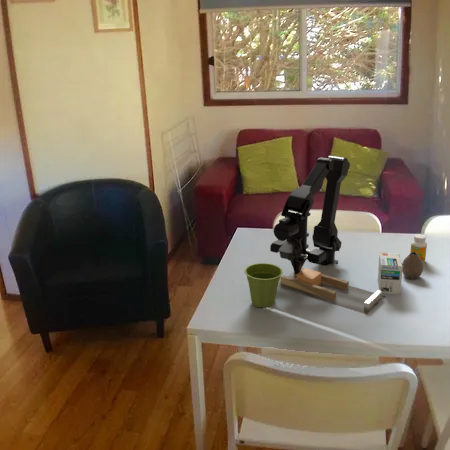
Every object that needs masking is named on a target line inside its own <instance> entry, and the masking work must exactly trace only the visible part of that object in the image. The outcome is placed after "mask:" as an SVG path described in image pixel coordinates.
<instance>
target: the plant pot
mask: <svg viewBox="0 0 450 450" xmlns="http://www.w3.org/2000/svg"><path fill="white" fill-rule="evenodd" d="M244 274H245V276H246V278H247V279H246V280H247V282H248V287H249V293H250V300H251V304H252V305H253V306H255V307H257V308H265V309H267V308H270V307H271V305H273V304H275V301H276V297H277V291H278V287H279V286H278V283H279V282H280V278H281V276H283V269H282V268H281V267H280V266H278V265H276V264H273V263H268V262H260V263H253V264H249V265H248V266H246V267H245V268H244Z"/></svg>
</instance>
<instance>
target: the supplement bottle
mask: <svg viewBox="0 0 450 450" xmlns="http://www.w3.org/2000/svg"><path fill="white" fill-rule="evenodd" d="M426 237H427V236H426V235H424V234H419V233H418V234H417V233H416V234H414V236H413V240H412V241H411V243H410V253H411V252H416V253H417V254H418V256H419V257H420V259H421V260H422V263H423V262H424V263H426V256H427V250H428V249H427V248H428V243H427V242H426V239H427V238H426ZM410 253H409V254H410ZM424 263H423V264H424Z"/></svg>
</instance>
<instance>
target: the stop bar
mask: <svg viewBox="0 0 450 450" xmlns="http://www.w3.org/2000/svg"><path fill="white" fill-rule="evenodd" d="M373 293H374V294H373V295H372V296H371V297H370V298H369V299H367V300H366V301H365V302H364V310H366V311H369V310H370V309H371V308H372V307H373V306H374V305H375V304H376V303H377V302H378V301H379V300H380V299H381V298H382V295H383V293H382V291H380V290H379V289H377V290H376V291H375V292H373Z"/></svg>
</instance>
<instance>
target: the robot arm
mask: <svg viewBox="0 0 450 450" xmlns="http://www.w3.org/2000/svg"><path fill="white" fill-rule="evenodd" d="M350 166H351V164H350V162H349V159H348V158H347V157H342V156H338V155H337V156H336V155H328V156H327V157H318V158H317V159H316V163H315V165H314V166H313V168H312V169H311V171H310V173H309V174H308V176H307V177H306V178H305V180H304V181H303V183H302V184H301V186H300V187H297V188H295V189H294V190H293V191H291V193H290V194H289V195H288V196H287V199H286V201H285V204H284V205H283V208H282V211H281V214H280V216H281V217H284V218H280V219H279V220H278V223H277V224H275V226H274V227H273V234H274V236H275V238H276V239H277V240H274V241H273V242H272V243H271V244H270V247H269V251H270V252H271V253H276V254H278V253H279V256H280V258H281V259H283V260H284V259H285V260H288V261H289V262H290V263H291V266H292V268H293V272H295V274H296V275H297V274H298V273H300V271H301V269H302V268H303V267H304V264H305V262H306V261H308V263H311V264H314V265H322V266H328V265H333V264H335V265H336V264H337V263H339V260H337V259H336V258H335V256H336V252H340V250H341V248H342V241H341V239H339V237H338V235H339V234H338V233H339V231H338V228H337V226H336V223H335V221H336V216H337V215H336V214H337V210H338V204H339V203H338V202H339V197H340V191H341V190H340V189H341V185H342V183H343V181H344V179H346V177H347V176H348V172H349V169H350ZM325 179H326V185H325V190H324V191H325V192H324V199H323V204H322V209H321V210H322V211H321V218H320V221H319V222H318V223H317V224H316V225H314V227H313V233H312V235H311V236H312V243H313V248H314V249H313V250H310V249H308V248H309V243H307V242H308V241H307V240H308V237H309V236H310V233H309V232H308V217H310V216H311V212H310V211H311V209H312V207H313V205H314V201H315V200H314V195H315V193H316V192H317V191H318V190H319V188H320V186H322V183H323V181H324V180H325Z"/></svg>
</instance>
